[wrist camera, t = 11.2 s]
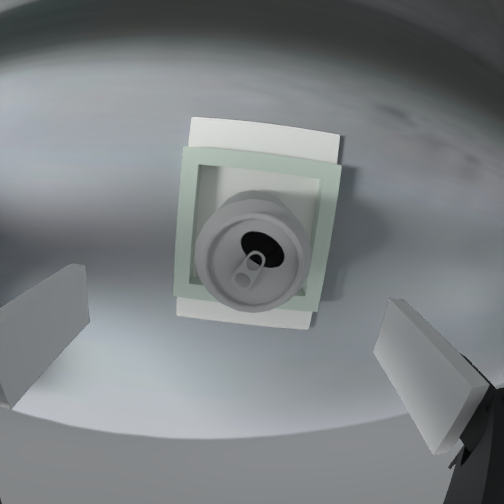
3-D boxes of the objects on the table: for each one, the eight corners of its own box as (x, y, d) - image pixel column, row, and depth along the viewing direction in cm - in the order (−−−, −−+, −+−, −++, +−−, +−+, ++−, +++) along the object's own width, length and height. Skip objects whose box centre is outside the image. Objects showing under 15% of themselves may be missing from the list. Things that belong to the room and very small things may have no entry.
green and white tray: (177, 313, 33) (172, 323, 31) (192, 117, 28) (187, 113, 26) (307, 327, 34) (311, 338, 31) (338, 135, 29) (345, 133, 26)
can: (308, 219, 30) (341, 250, 18) (262, 281, 32) (267, 344, 20) (243, 173, 29) (236, 175, 17) (198, 238, 31) (166, 280, 19)
